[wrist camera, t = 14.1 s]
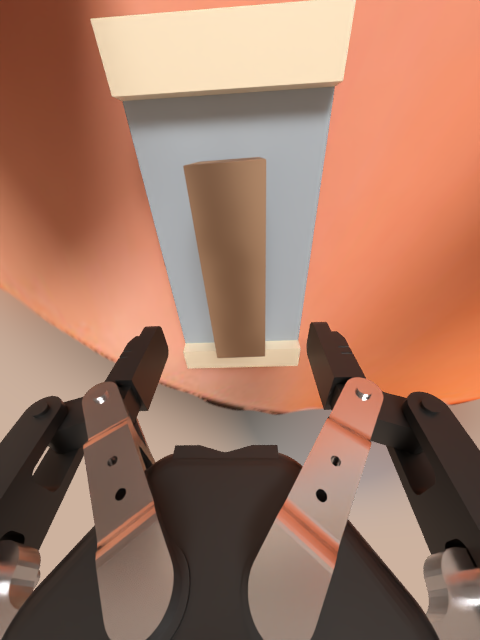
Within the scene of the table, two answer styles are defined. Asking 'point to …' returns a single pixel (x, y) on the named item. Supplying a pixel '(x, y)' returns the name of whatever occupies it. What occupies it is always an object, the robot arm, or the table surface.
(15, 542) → the robot arm
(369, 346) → the table surface
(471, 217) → the table surface
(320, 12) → the blue and cream box
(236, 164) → the brown block
